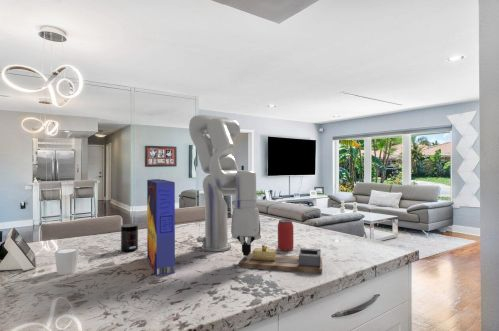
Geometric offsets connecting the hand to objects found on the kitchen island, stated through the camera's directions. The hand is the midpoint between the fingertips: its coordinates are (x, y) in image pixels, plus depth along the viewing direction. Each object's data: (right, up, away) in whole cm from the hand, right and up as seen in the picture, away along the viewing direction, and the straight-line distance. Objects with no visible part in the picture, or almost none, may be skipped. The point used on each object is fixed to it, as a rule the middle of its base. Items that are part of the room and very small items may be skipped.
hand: (246, 254), depth 108 cm
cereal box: (-31, -3, -2) cm, 31 cm away
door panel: (+12, -3, -3) cm, 13 cm away
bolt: (+7, -1, -1) cm, 7 cm away
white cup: (-59, -3, -10) cm, 60 cm away
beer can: (+16, -3, +17) cm, 24 cm away
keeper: (+22, -1, -5) cm, 23 cm away
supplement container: (-49, -3, +16) cm, 51 cm away
